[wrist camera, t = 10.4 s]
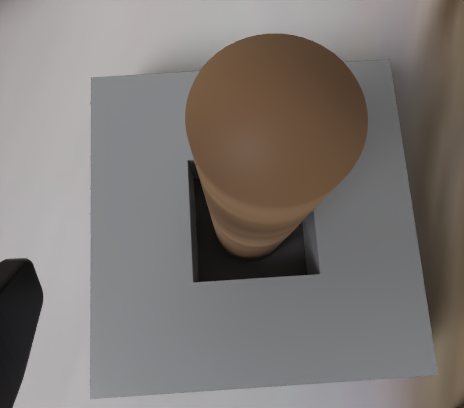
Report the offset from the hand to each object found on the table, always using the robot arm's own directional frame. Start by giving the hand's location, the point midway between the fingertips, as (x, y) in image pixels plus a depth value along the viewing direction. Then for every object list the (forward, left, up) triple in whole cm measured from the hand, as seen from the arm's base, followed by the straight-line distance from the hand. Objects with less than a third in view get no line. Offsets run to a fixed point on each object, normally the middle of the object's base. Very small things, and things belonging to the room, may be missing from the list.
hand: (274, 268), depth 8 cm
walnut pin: (+3, 0, -12) cm, 12 cm away
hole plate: (+3, 0, -12) cm, 12 cm away
